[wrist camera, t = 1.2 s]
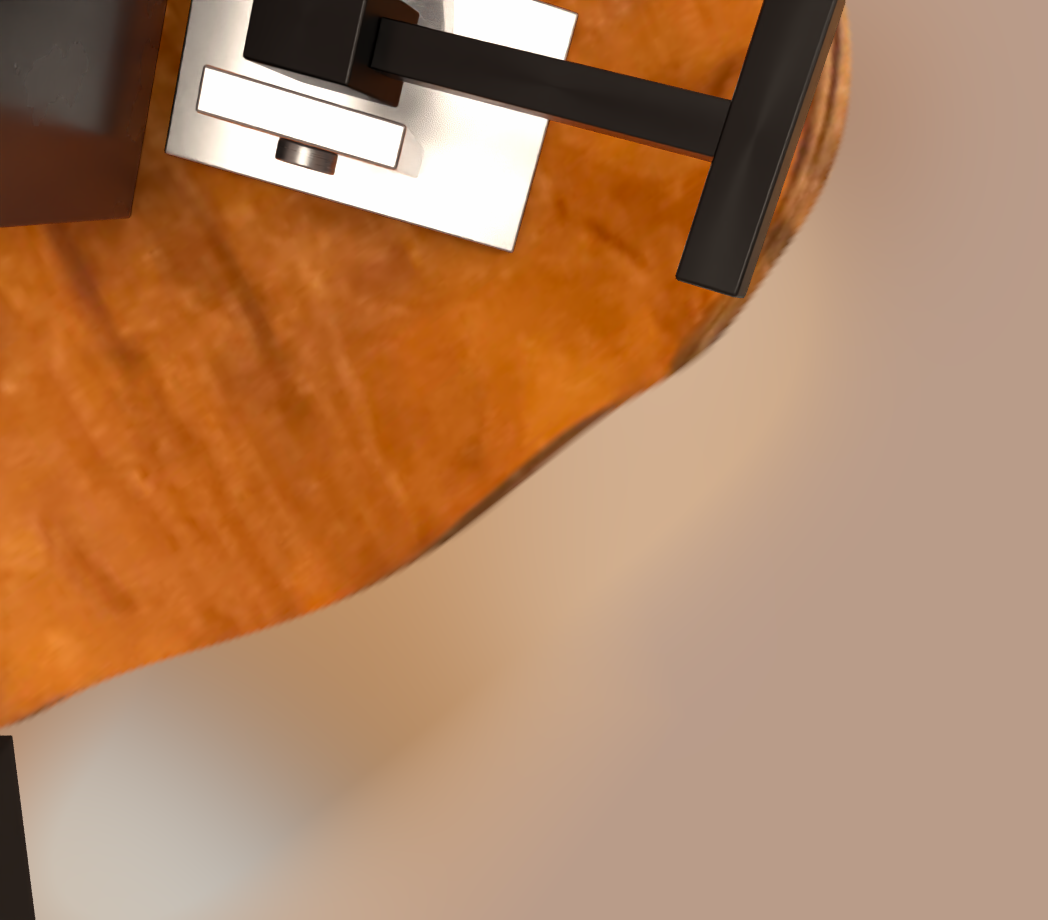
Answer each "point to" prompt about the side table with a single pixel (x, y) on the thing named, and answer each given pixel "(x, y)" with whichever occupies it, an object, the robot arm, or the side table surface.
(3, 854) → the robot arm
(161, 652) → the side table surface
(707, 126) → the lever
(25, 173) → the toaster
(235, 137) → the lever bracket
